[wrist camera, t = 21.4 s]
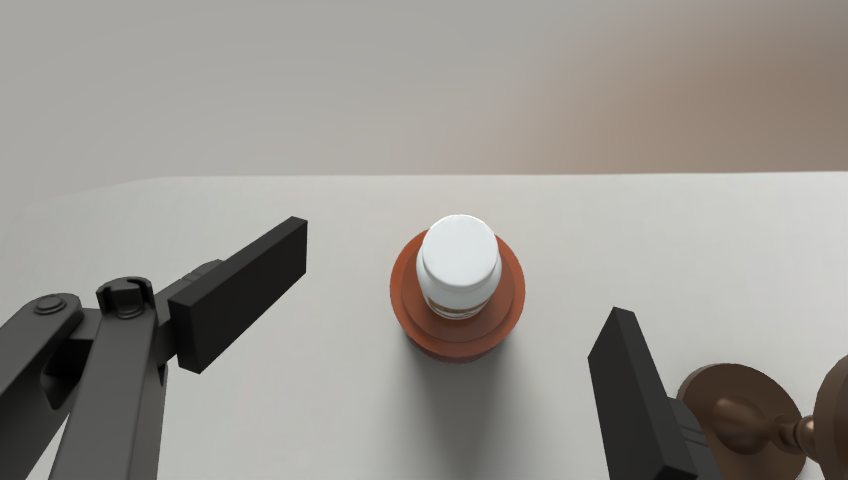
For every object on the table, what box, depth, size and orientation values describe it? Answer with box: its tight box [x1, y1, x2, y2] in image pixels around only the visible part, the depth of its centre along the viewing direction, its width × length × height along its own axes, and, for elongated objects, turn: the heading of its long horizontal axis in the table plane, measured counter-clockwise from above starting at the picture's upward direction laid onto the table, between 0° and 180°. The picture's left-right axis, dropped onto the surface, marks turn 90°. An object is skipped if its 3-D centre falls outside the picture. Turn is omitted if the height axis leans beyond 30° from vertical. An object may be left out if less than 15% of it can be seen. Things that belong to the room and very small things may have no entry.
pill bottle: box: [416, 215, 502, 319], centre depth 21 cm, size 4×4×8 cm
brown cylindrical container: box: [390, 228, 525, 364], centre depth 29 cm, size 9×9×11 cm
